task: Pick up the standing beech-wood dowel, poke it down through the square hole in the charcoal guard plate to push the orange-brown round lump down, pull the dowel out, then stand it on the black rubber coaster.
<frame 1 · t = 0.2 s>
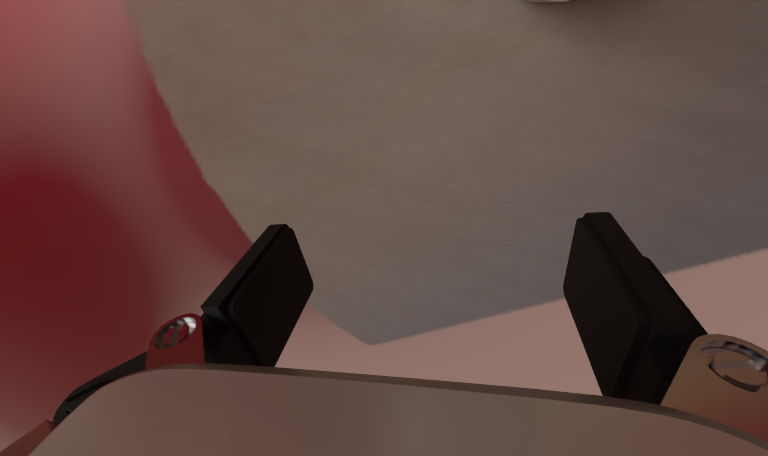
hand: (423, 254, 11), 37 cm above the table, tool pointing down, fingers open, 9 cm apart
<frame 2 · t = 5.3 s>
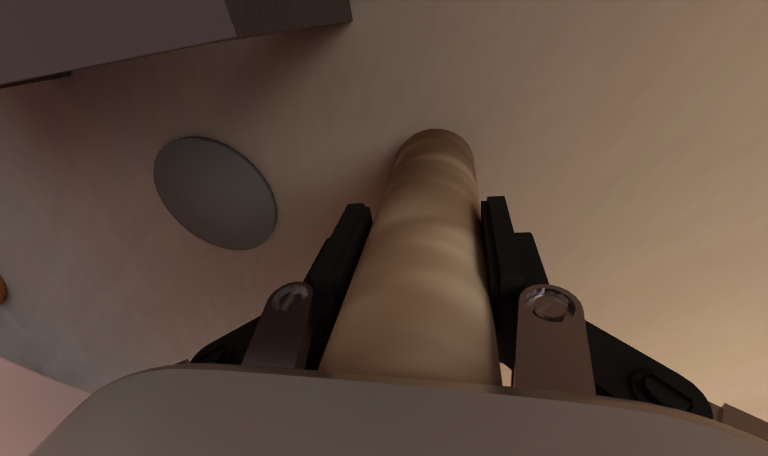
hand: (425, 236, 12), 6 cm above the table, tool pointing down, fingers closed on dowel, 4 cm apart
coaster: (218, 197, 21), on the table
dowel: (434, 166, 17), on the table, touching gripper
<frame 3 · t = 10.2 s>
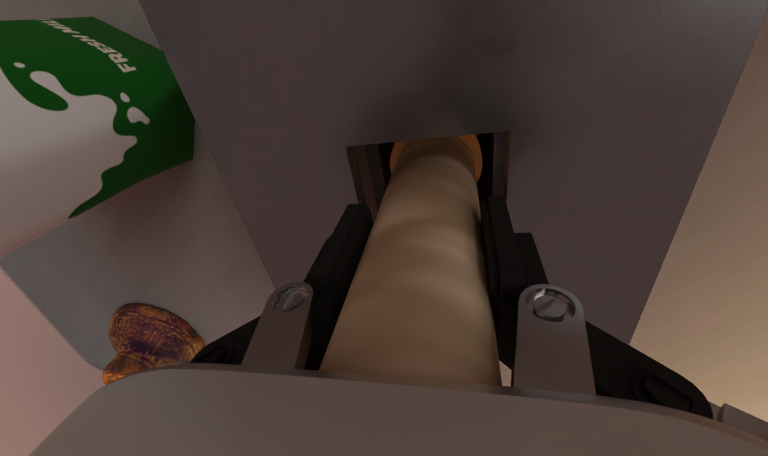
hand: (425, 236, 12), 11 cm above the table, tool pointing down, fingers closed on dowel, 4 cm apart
guard: (438, 137, 20), on the table
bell: (165, 330, 42), on the table
dowel: (434, 167, 17), point 5 cm above the table, touching gripper, orange-brown round lump
orange-brown round lump: (436, 151, 19), point 2 cm above the table, slide at 3.0 cm, touching dowel
milk carton: (150, 95, 23), on the table
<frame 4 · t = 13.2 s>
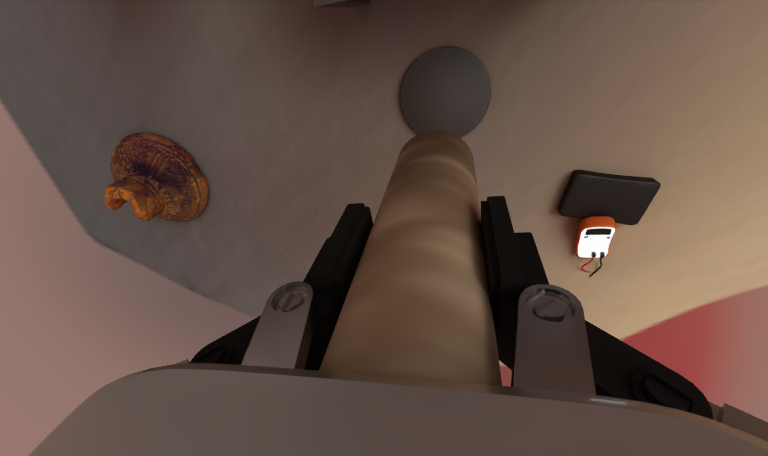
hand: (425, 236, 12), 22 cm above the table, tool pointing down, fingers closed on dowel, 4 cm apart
coaster: (444, 96, 29), on the table
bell: (168, 175, 41), on the table
multimeter: (590, 244, 36), on the table
dowel: (434, 168, 17), point 15 cm above the table, touching gripper
when the fingers open (8 cm above the table, at t = 15.8 s): dowel drops 1 cm, resting on coaster.
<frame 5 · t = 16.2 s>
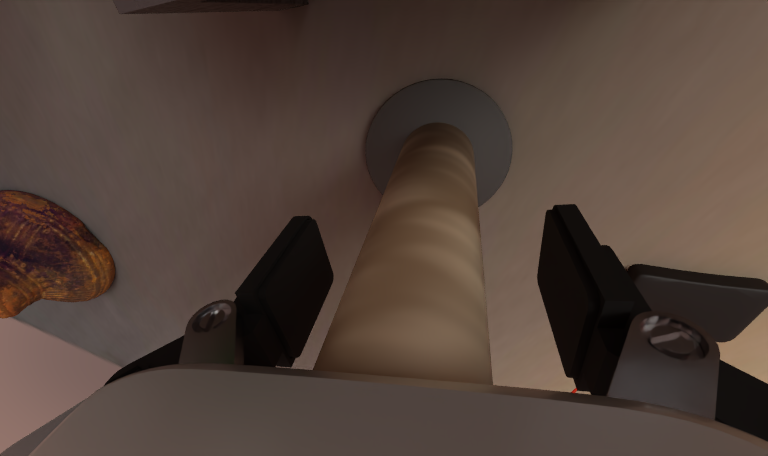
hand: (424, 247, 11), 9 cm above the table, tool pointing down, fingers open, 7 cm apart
coaster: (436, 155, 18), on the table
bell: (59, 241, 30), on the table
multimeter: (648, 352, 25), on the table
dowel: (436, 158, 18), resting on coaster
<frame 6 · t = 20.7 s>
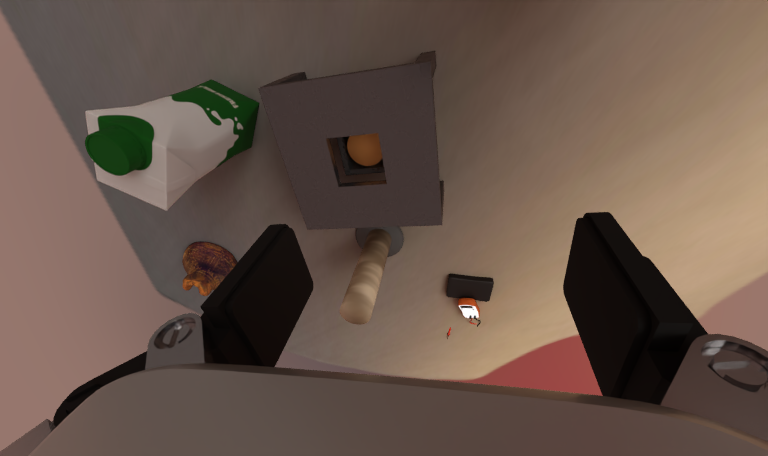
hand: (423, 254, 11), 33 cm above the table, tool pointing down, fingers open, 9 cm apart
guard: (373, 135, 43), on the table
coaster: (379, 237, 53), on the table
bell: (216, 262, 65), on the table
multimeter: (473, 308, 60), on the table
dowel: (379, 238, 53), resting on coaster
orange-brown round lump: (369, 141, 41), point 2 cm above the table, slide at 3.0 cm
milk carton: (233, 114, 46), on the table
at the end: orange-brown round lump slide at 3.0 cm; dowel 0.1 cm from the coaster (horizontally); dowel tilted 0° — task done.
